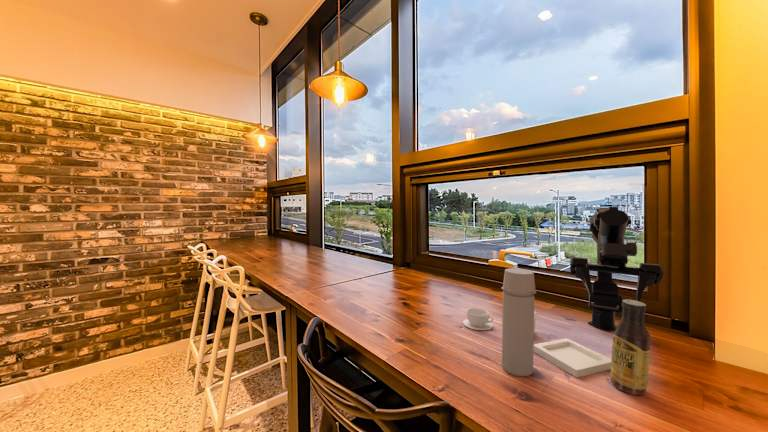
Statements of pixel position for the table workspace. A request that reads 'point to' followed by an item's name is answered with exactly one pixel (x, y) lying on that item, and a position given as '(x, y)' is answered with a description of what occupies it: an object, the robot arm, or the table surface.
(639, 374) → the sauce bottle
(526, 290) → the water bottle
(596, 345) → the table surface
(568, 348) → the holder tray
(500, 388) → the table surface
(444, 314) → the table surface
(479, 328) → the teacup
